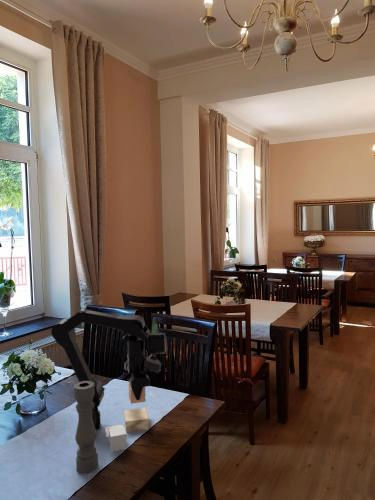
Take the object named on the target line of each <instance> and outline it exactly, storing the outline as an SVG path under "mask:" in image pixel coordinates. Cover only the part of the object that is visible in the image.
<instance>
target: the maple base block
mask: <svg viewBox="0 0 375 500" xmlns="http://www.w3.org/2000/svg"><path fill="white" fill-rule="evenodd" d="M149 424H150V419H149V413H148V407H143V408H133V409H125V410H124V427H125V430H126V433H128V432H135V431H144V430H150V425H149Z"/></svg>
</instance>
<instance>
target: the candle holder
mask: <svg viewBox="0 0 375 500" xmlns="http://www.w3.org/2000/svg"><path fill="white" fill-rule="evenodd" d="M73 393H74V395H73V396H74V399H75V402H76V405H75V410H76V411H77V410H78V412H77V414H78V417H77V418H78V421H77V426H76V431H75V442H76V444H77V445H78V450H77V451H76V457H75V462H76V463H75V465H76V471H77V473H79V474H83V475H86V474H87V475H88V474H92V473H93V472H95V471H96V470H97V469H98V467H99V455H98V454H99V453H98V450H97V448H96V447H95V443H96V441H97V438H98V437H97V436H98V434H97V430H96V429H95V426H94V423H93V419H92V408H93V407H94V403H93V402H92V399H93V397H94V394H95V392H94V383H93V382H92V381H82V382H79V381H78V382H77V383H74V385H73Z"/></svg>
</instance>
